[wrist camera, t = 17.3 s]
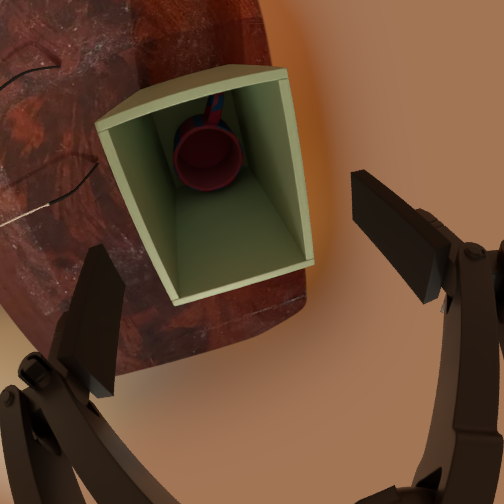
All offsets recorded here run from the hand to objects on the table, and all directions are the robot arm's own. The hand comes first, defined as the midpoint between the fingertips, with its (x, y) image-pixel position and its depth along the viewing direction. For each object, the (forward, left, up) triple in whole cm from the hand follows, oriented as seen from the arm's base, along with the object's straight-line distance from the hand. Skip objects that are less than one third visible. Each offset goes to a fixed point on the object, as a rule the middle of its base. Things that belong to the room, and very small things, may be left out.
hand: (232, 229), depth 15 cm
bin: (0, 0, -24) cm, 24 cm away
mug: (-1, +1, -23) cm, 23 cm away
